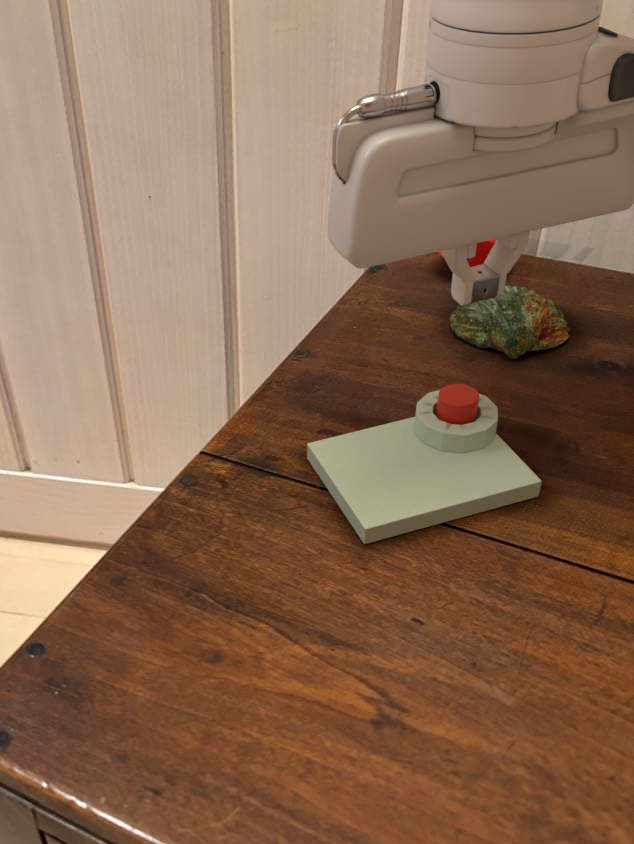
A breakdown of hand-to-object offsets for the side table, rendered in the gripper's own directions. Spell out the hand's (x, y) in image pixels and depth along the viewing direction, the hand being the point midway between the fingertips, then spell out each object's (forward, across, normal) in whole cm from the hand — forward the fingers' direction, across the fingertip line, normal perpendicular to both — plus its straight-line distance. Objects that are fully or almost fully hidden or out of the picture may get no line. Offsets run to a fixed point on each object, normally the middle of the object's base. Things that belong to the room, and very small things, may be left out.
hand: (476, 297), depth 60 cm
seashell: (+12, +12, +12) cm, 21 cm away
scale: (+11, -5, -3) cm, 13 cm away
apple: (+12, +14, +24) cm, 30 cm away
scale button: (+9, -1, -1) cm, 9 cm away
